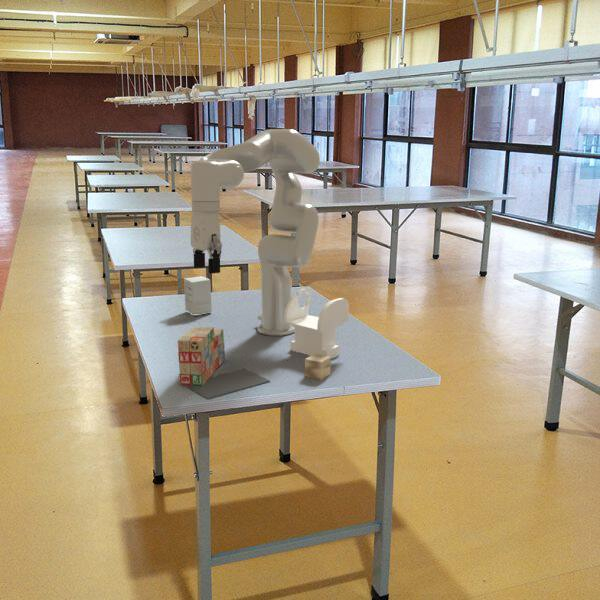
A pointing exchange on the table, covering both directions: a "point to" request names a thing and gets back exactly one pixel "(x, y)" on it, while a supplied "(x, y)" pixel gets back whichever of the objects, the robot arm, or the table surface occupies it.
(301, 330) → the white plastic bracket
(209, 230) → the robot arm
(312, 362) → the beech block
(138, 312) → the table surface
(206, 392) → the rubber mat
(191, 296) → the supplement box
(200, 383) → the stack of blocks
